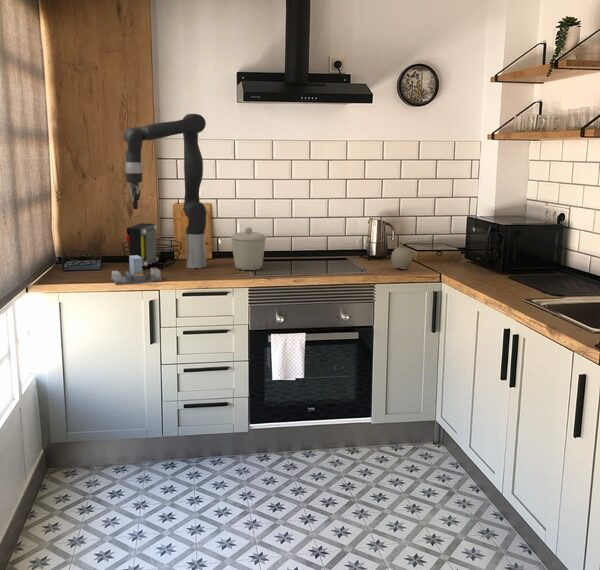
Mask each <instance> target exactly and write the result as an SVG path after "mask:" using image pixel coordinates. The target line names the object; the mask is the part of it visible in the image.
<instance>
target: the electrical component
mask: <svg viewBox="0 0 600 570" xmlns="http://www.w3.org/2000/svg"><path fill="white" fill-rule="evenodd" d="M157 231H158V225H156V224H155V223H144V222H141V223H138V224H134V225H132V226H128V227H126V235H125V238H126V242H127V244H128V245H129V256H133V255H138V256H140V257H141V258H142V266H146V267H148V266H149V265H148V264H150V265H152V263H153V264H154V263H155V264H156V263H157V262H159V256H157V244H156V243H157V241H156V232H157ZM147 265H148V266H147Z"/></svg>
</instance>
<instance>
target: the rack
mask: <svg viewBox="0 0 600 570" xmlns="http://www.w3.org/2000/svg"><path fill="white" fill-rule="evenodd" d="M111 280H112V281H113V282H114V283H115V284H114V283H113V282H112V281H111ZM159 280H162V281H163V278H162V277H161V270H159V268H157V267H150V274H147V273H145V272H144V271H143V274H134V276H132V275H131V274H130V270H127V271H126V270H125V276H122V274H121V272H120V271H118V270H111V277H110V281H111V282H112V283H113V284H114V285H116V286H122V285H123V286H125V285H132V284H133V285H134V284H144V283H143V282H148V283H150V282H149V281H159ZM159 282H160V281H159Z"/></svg>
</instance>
